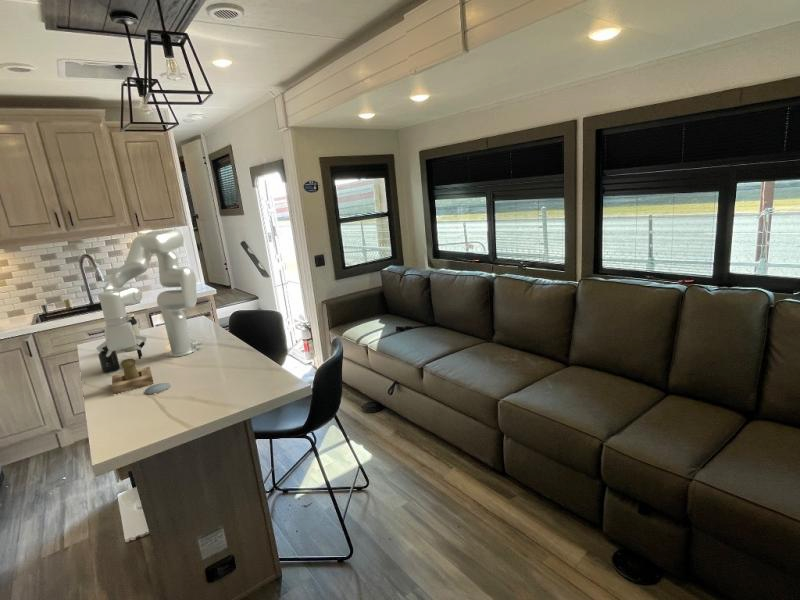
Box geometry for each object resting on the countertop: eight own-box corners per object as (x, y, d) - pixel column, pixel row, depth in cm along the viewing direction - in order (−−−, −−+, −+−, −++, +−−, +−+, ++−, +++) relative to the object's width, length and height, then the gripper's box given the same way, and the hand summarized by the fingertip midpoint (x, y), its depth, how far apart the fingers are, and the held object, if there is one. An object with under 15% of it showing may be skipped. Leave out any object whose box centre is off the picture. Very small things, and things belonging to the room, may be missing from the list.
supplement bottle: (111, 373, 192) (104, 348, 189) (99, 373, 194) (92, 348, 191) (123, 367, 199) (117, 343, 196) (111, 367, 200) (105, 343, 197)
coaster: (169, 382, 177) (168, 380, 177) (171, 389, 169) (171, 388, 169) (144, 388, 172) (144, 387, 172) (145, 396, 165) (145, 395, 165)
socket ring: (151, 373, 187) (149, 366, 187) (153, 384, 176) (151, 376, 175) (114, 383, 180) (112, 376, 179) (114, 395, 169) (111, 387, 168)
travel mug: (146, 346, 225) (137, 314, 221) (130, 352, 219) (121, 318, 214) (138, 345, 230) (130, 313, 225) (122, 350, 223) (113, 317, 219)
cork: (124, 388, 174) (117, 363, 171) (126, 383, 179) (119, 359, 177) (141, 384, 177) (135, 360, 174) (142, 379, 182) (136, 355, 179)
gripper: (141, 315, 179) (149, 353, 182) (91, 324, 170) (101, 364, 173) (141, 318, 172) (151, 358, 176) (90, 328, 163) (101, 370, 167)
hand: (126, 361), depth 175 cm, fingers open, 9 cm apart
